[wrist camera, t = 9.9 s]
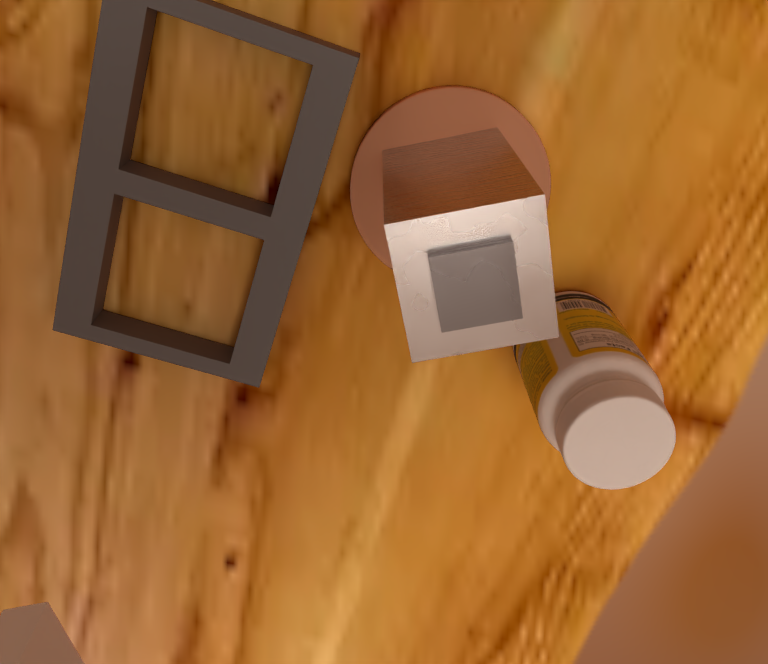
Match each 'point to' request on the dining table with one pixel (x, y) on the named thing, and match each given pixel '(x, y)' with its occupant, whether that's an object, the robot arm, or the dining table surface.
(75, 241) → the grey double frame
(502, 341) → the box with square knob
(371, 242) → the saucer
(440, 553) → the dining table surface
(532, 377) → the supplement bottle
